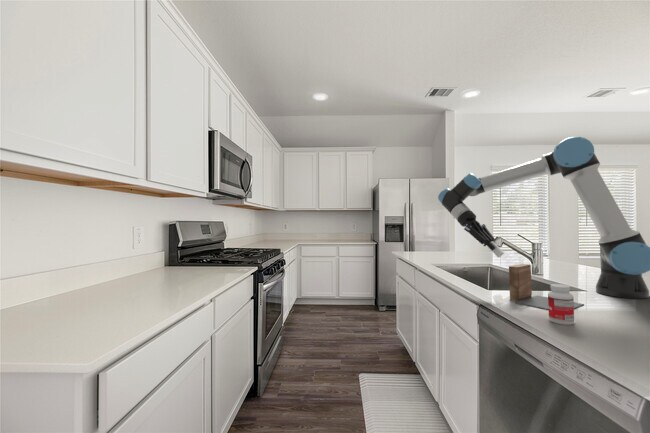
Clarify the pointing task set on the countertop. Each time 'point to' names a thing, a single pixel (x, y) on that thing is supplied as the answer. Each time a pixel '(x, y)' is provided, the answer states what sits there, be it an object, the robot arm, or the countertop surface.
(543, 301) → the dark grey rubber mat
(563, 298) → the pill bottle
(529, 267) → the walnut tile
